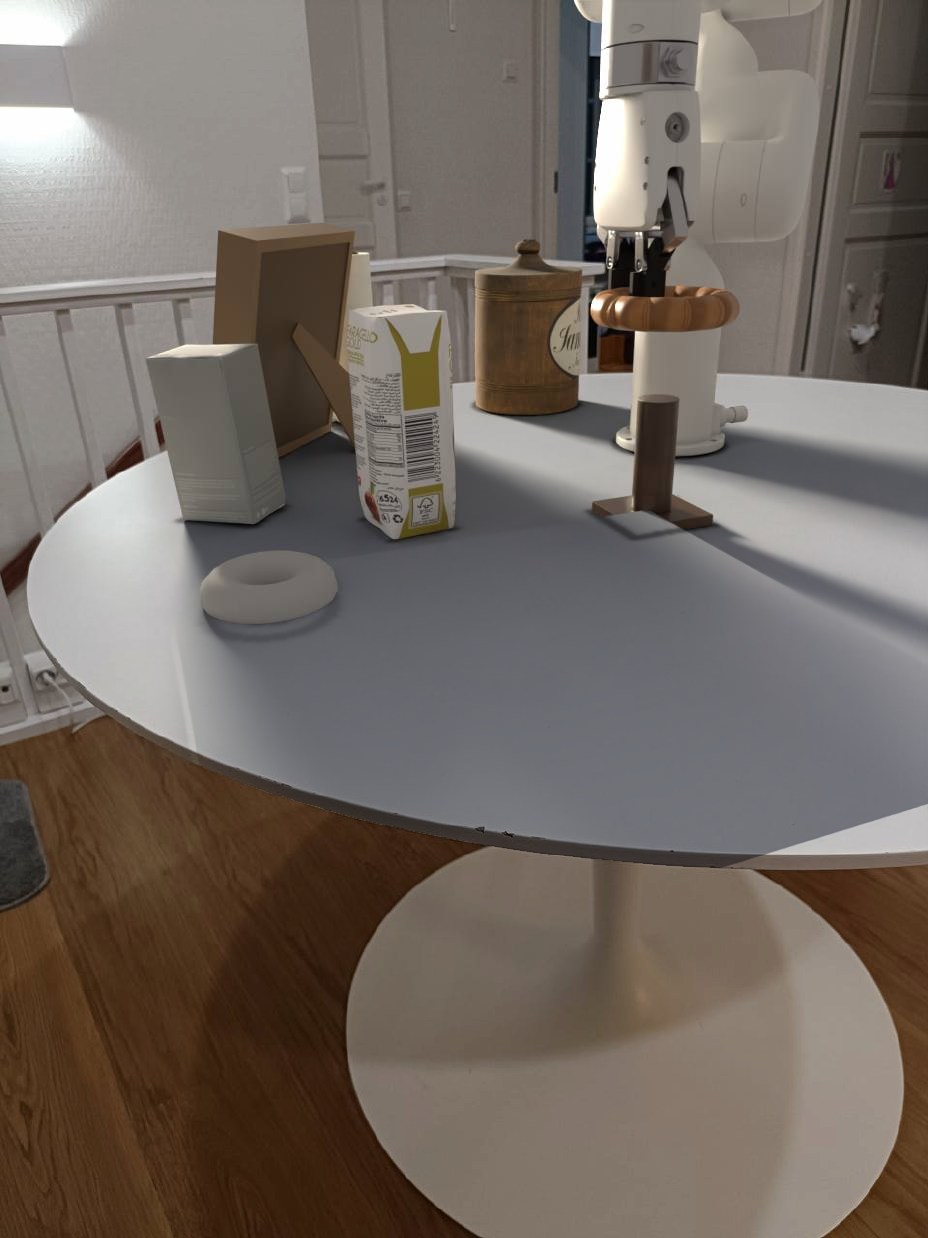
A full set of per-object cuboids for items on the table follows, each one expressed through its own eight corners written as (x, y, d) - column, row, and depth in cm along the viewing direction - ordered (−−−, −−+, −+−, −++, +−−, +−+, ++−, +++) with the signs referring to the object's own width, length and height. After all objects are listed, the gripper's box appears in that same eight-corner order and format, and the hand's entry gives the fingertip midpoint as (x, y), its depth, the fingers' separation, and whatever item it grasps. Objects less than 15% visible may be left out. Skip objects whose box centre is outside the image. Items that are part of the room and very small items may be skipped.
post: (664, 499, 86) (672, 386, 81) (712, 524, 79) (724, 402, 75) (591, 511, 84) (595, 394, 79) (634, 538, 77) (642, 412, 72)
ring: (683, 312, 81) (685, 281, 80) (767, 327, 71) (771, 293, 70) (566, 320, 77) (567, 289, 76) (636, 338, 67) (638, 302, 66)
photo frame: (208, 474, 99) (169, 230, 88) (302, 428, 117) (280, 223, 106) (325, 483, 94) (301, 228, 83) (405, 435, 112) (393, 220, 102)
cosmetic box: (287, 506, 87) (268, 341, 81) (249, 530, 81) (224, 354, 75) (215, 499, 90) (189, 339, 83) (172, 522, 84) (141, 351, 77)
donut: (342, 581, 70) (215, 586, 70) (339, 541, 69) (209, 545, 68) (336, 637, 61) (190, 644, 61) (332, 592, 60) (183, 598, 59)
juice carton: (389, 545, 77) (374, 317, 69) (354, 517, 84) (336, 307, 76) (465, 529, 80) (460, 310, 72) (425, 504, 87) (416, 301, 79)
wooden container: (584, 414, 120) (589, 239, 110) (475, 417, 120) (471, 242, 111) (573, 392, 133) (577, 234, 124) (475, 394, 134) (472, 237, 124)
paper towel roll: (389, 417, 121) (378, 250, 112) (362, 427, 117) (348, 253, 108) (348, 412, 125) (335, 250, 116) (320, 421, 120) (304, 253, 111)
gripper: (751, 62, 64) (725, 325, 72) (636, 88, 78) (625, 307, 86) (662, 60, 62) (646, 332, 70) (560, 87, 76) (555, 312, 84)
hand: (634, 316), depth 78 cm, fingers closed on ring, 2 cm apart
